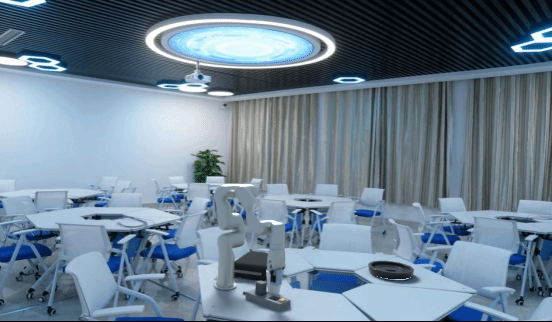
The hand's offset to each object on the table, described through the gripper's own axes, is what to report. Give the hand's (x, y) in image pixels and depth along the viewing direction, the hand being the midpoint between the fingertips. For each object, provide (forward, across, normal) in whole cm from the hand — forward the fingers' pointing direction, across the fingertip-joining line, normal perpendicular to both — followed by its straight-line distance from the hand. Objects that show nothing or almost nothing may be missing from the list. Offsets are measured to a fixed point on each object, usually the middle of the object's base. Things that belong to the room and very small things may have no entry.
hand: (275, 280), depth 203 cm
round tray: (+13, -100, +19) cm, 102 cm away
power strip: (+13, 0, -8) cm, 15 cm away
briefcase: (+13, -36, -43) cm, 57 cm away
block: (+2, 0, 0) cm, 2 cm away
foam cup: (+13, -12, -11) cm, 21 cm away
